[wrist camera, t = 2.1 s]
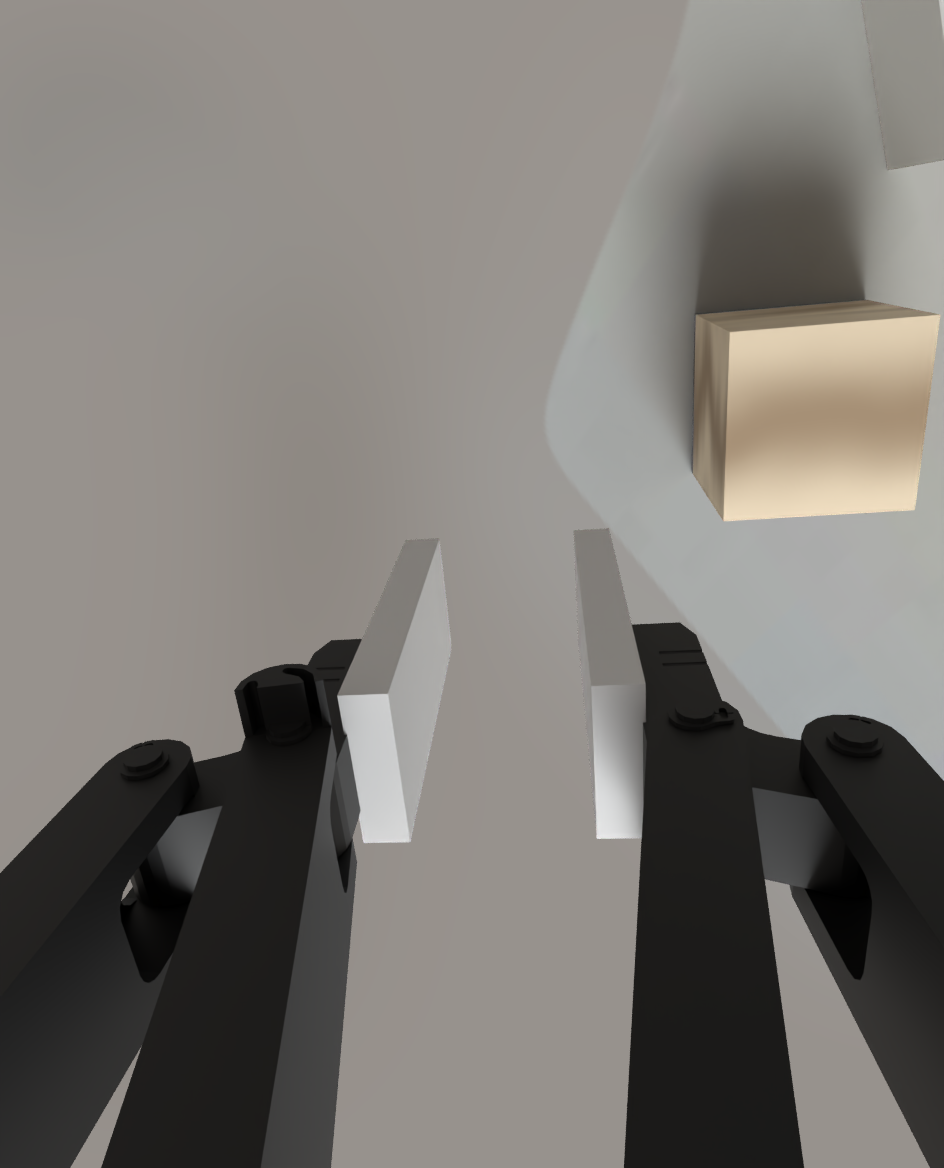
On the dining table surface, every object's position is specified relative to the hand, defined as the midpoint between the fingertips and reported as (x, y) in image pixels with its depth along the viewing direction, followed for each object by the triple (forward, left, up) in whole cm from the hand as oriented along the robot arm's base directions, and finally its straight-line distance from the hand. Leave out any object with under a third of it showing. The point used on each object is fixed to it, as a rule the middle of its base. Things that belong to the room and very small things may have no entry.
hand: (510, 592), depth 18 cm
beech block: (0, +11, -21) cm, 23 cm away
